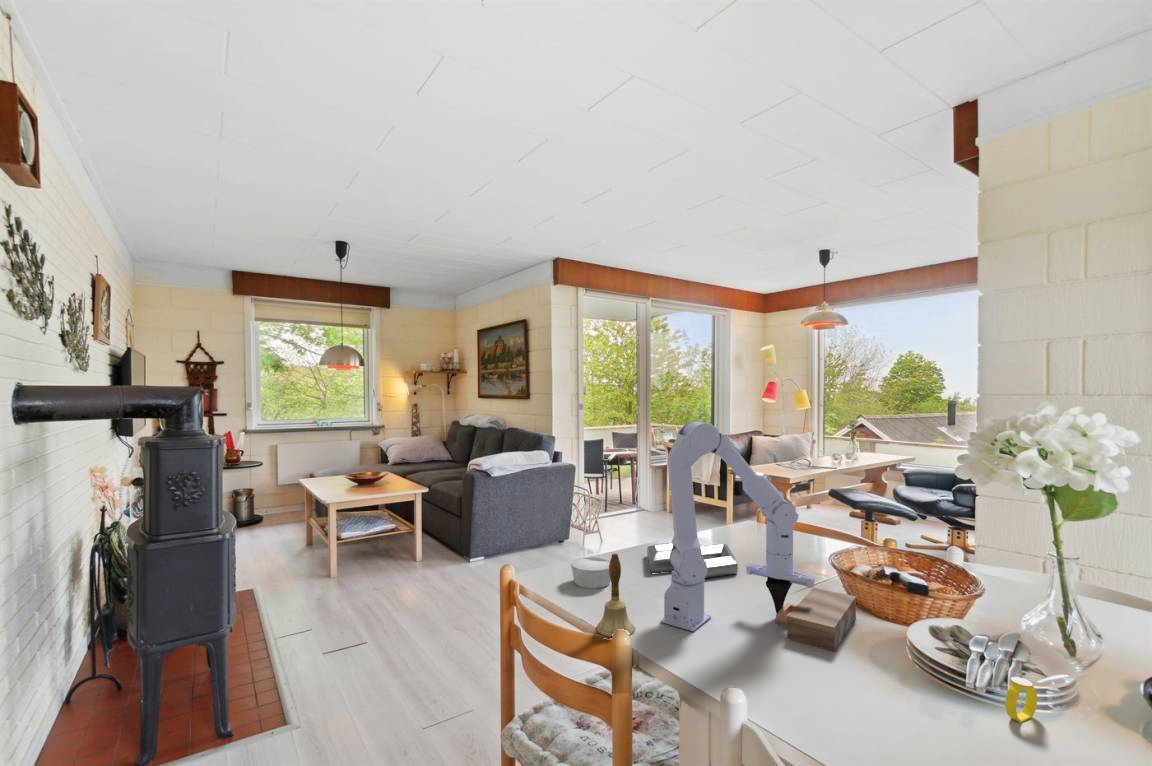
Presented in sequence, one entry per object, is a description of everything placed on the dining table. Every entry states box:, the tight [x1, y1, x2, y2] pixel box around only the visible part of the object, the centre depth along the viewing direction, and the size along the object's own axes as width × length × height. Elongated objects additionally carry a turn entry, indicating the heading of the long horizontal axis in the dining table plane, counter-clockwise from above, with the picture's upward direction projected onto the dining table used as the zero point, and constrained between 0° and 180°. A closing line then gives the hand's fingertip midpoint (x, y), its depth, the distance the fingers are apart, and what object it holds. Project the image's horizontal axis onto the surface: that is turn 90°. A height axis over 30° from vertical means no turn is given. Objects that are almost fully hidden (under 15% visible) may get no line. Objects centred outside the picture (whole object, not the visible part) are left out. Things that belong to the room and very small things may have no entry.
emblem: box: [646, 542, 739, 579], centre depth 160 cm, size 28×5×28 cm
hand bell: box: [595, 553, 636, 638], centre depth 118 cm, size 8×8×16 cm
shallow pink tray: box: [775, 602, 798, 627], centre depth 121 cm, size 8×12×2 cm, turn 52°
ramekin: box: [570, 556, 611, 590], centre depth 146 cm, size 11×11×5 cm
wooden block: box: [786, 587, 857, 652], centre depth 119 cm, size 20×9×5 cm, turn 142°
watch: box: [1004, 676, 1038, 723], centre depth 87 cm, size 6×3×6 cm, turn 114°
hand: (779, 611), depth 125 cm, fingers closed
